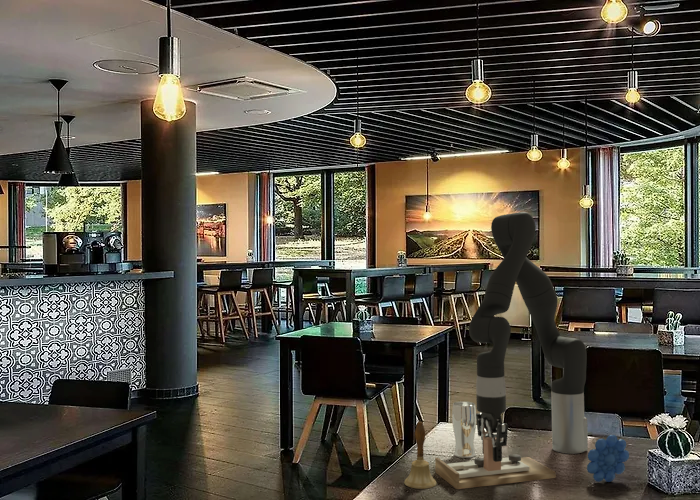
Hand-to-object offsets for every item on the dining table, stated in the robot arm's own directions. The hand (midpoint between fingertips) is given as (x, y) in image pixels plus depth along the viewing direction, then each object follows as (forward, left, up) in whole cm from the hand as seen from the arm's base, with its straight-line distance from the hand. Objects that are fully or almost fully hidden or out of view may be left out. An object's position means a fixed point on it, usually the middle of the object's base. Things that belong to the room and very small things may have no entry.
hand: (492, 457), depth 183 cm
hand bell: (+19, -3, -6) cm, 20 cm away
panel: (+1, -3, -4) cm, 5 cm away
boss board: (-2, -3, -6) cm, 7 cm away
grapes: (-27, +10, -6) cm, 30 cm away
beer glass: (-2, -22, -6) cm, 23 cm away
